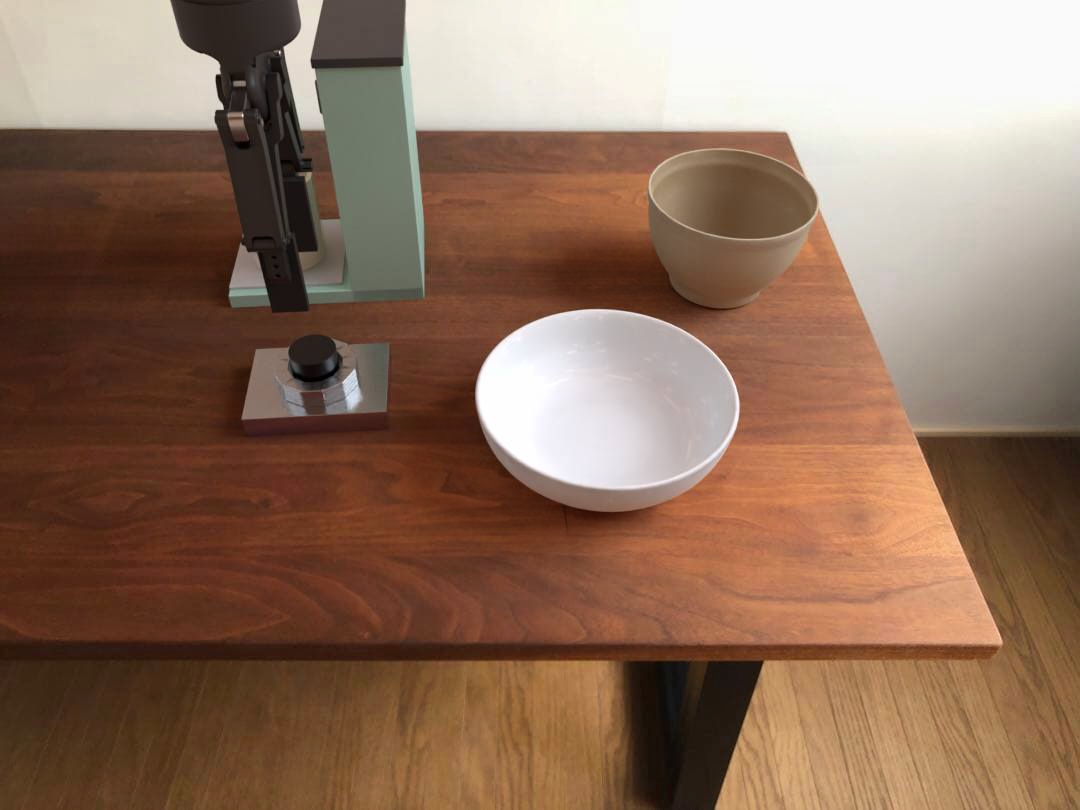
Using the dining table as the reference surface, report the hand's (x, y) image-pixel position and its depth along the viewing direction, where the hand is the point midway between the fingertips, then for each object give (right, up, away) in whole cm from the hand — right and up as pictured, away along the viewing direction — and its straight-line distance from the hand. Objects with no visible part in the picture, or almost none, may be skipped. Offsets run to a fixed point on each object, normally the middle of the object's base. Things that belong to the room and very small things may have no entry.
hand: (296, 277), depth 70 cm
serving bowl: (+24, -14, +5) cm, 29 cm away
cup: (-7, +6, +22) cm, 23 cm away
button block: (0, -9, +9) cm, 13 cm away
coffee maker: (-2, +5, +23) cm, 24 cm away
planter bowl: (+37, +3, +22) cm, 44 cm away
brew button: (0, -7, +7) cm, 9 cm away
